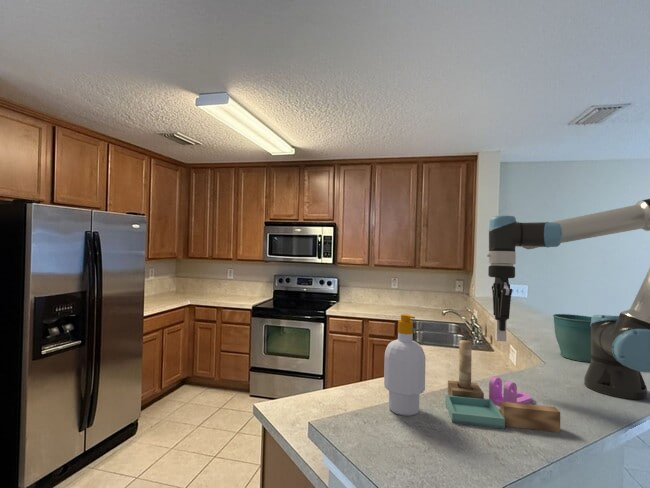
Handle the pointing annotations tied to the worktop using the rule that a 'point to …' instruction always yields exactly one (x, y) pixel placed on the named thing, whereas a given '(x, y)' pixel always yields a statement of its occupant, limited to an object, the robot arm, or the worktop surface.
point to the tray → (474, 411)
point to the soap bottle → (404, 370)
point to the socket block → (464, 390)
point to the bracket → (506, 392)
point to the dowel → (465, 364)
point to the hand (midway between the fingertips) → (500, 340)
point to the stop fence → (530, 416)
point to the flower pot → (573, 336)
